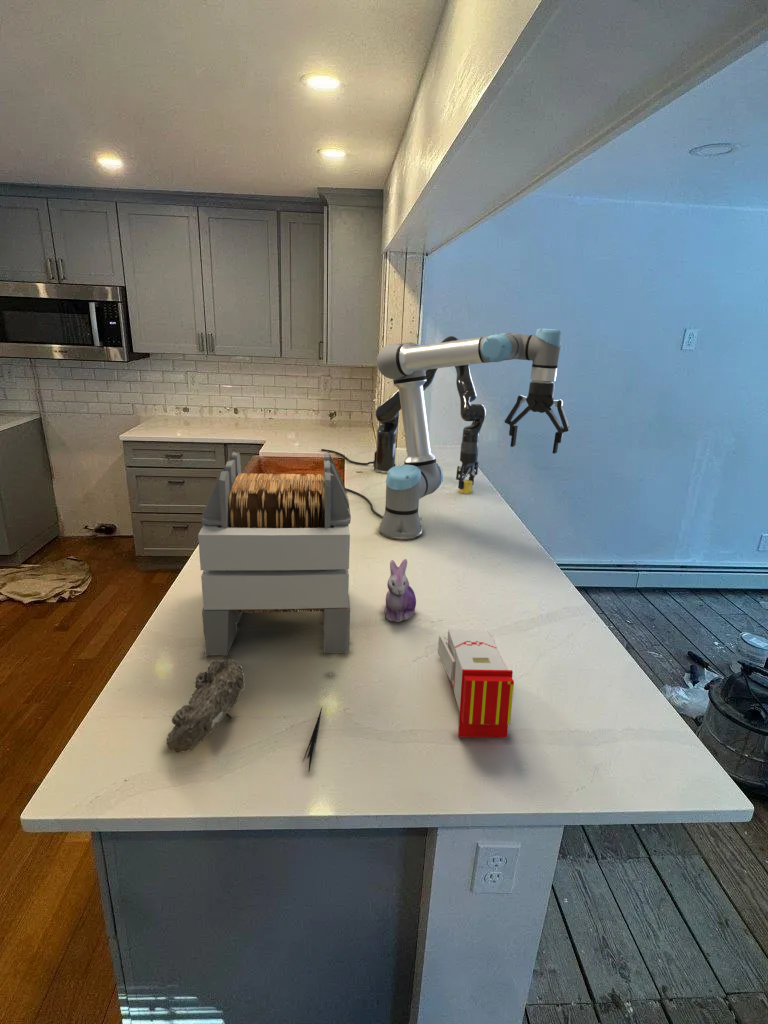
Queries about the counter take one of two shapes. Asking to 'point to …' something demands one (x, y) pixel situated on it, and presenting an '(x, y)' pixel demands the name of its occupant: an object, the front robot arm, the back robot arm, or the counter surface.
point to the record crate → (275, 551)
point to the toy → (478, 682)
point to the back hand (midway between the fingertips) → (465, 486)
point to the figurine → (399, 594)
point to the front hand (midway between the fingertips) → (533, 449)
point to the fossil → (206, 705)
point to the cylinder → (467, 487)
